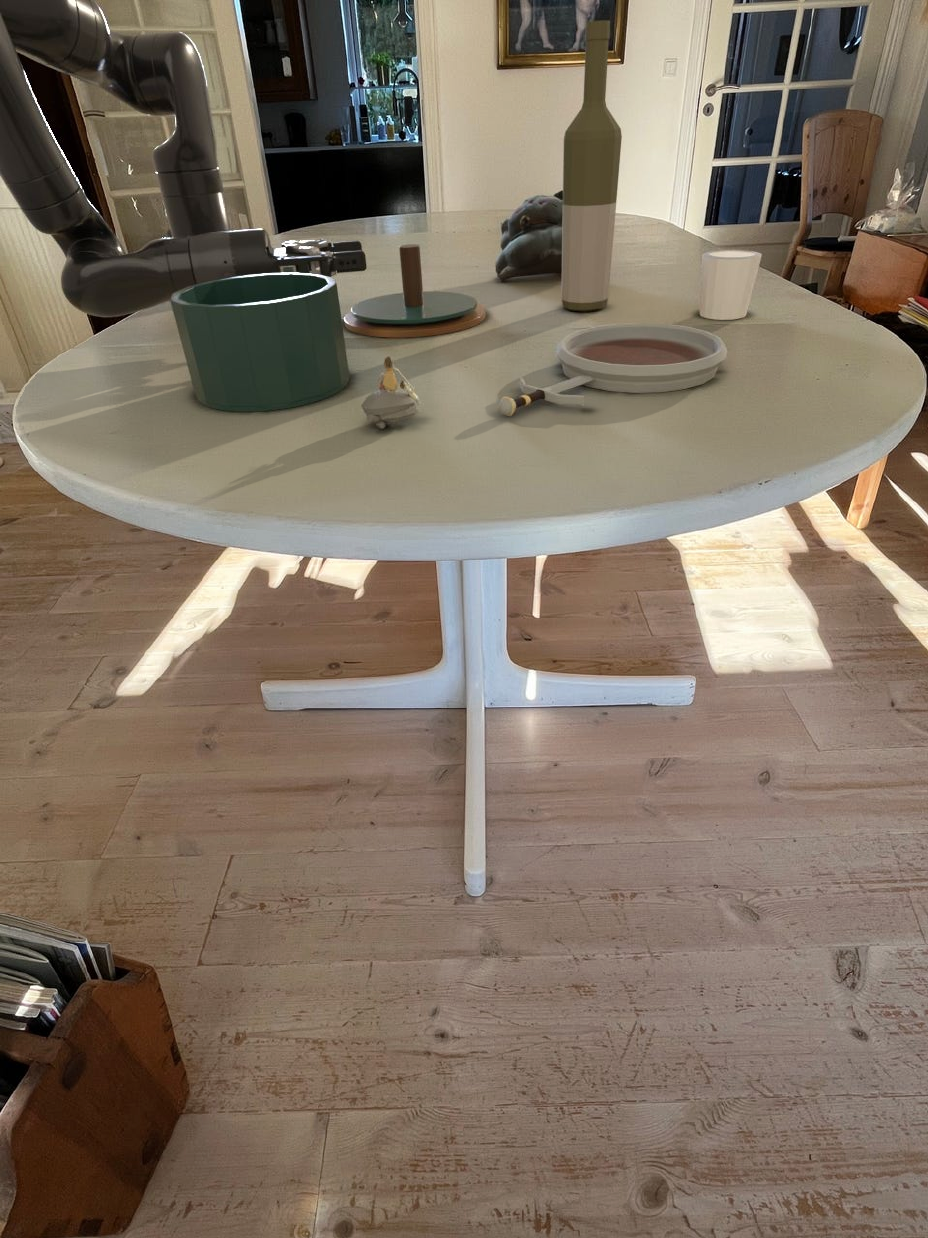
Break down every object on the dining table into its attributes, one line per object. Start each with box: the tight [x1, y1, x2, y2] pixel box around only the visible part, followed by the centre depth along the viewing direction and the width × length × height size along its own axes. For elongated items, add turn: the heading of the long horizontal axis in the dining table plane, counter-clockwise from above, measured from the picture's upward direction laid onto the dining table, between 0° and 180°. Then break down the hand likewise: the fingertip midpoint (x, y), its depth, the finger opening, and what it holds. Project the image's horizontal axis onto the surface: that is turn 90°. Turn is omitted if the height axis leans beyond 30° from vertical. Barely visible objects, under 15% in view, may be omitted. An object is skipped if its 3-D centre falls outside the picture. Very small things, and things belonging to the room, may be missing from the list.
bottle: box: [561, 20, 623, 312], centre depth 88 cm, size 7×7×30 cm
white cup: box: [699, 249, 763, 321], centre depth 88 cm, size 7×7×7 cm
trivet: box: [343, 302, 487, 339], centre depth 96 cm, size 19×19×1 cm
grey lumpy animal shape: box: [494, 189, 563, 282], centre depth 113 cm, size 15×12×14 cm
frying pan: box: [498, 322, 729, 417], centre depth 70 cm, size 17×3×28 cm
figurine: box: [360, 356, 422, 430], centre depth 62 cm, size 5×4×6 cm
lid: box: [350, 243, 478, 325], centre depth 93 cm, size 17×17×8 cm
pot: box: [169, 273, 350, 413], centre depth 72 cm, size 16×16×10 cm
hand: (363, 254), depth 91 cm, fingers open, 8 cm apart
